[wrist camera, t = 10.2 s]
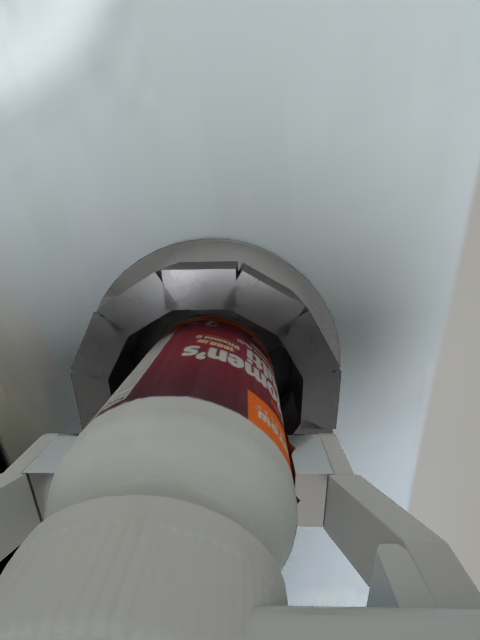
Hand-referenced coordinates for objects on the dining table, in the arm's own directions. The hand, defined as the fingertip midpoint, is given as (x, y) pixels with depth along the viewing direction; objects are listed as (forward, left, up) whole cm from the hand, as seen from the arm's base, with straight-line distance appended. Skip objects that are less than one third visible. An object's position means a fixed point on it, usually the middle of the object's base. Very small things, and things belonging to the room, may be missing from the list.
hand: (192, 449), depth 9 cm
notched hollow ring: (0, 0, -7) cm, 7 cm away
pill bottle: (0, 0, -6) cm, 6 cm away
